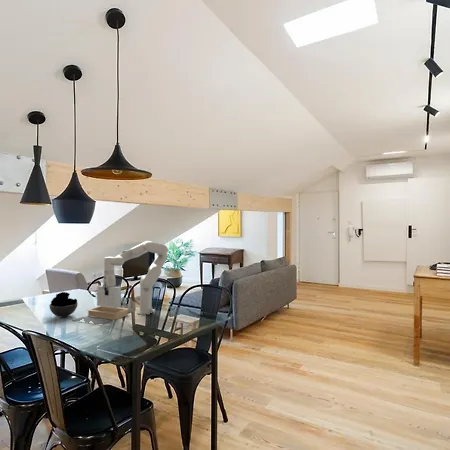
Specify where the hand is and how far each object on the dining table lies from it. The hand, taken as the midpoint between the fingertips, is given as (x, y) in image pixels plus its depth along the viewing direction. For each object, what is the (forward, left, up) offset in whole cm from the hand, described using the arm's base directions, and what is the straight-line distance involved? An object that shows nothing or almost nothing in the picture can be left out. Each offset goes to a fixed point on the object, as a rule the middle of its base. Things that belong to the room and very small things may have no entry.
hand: (109, 294), depth 270 cm
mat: (0, +18, -17) cm, 25 cm away
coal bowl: (+29, +17, -17) cm, 38 cm away
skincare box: (0, 0, -10) cm, 10 cm away
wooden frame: (0, 0, -17) cm, 17 cm away
